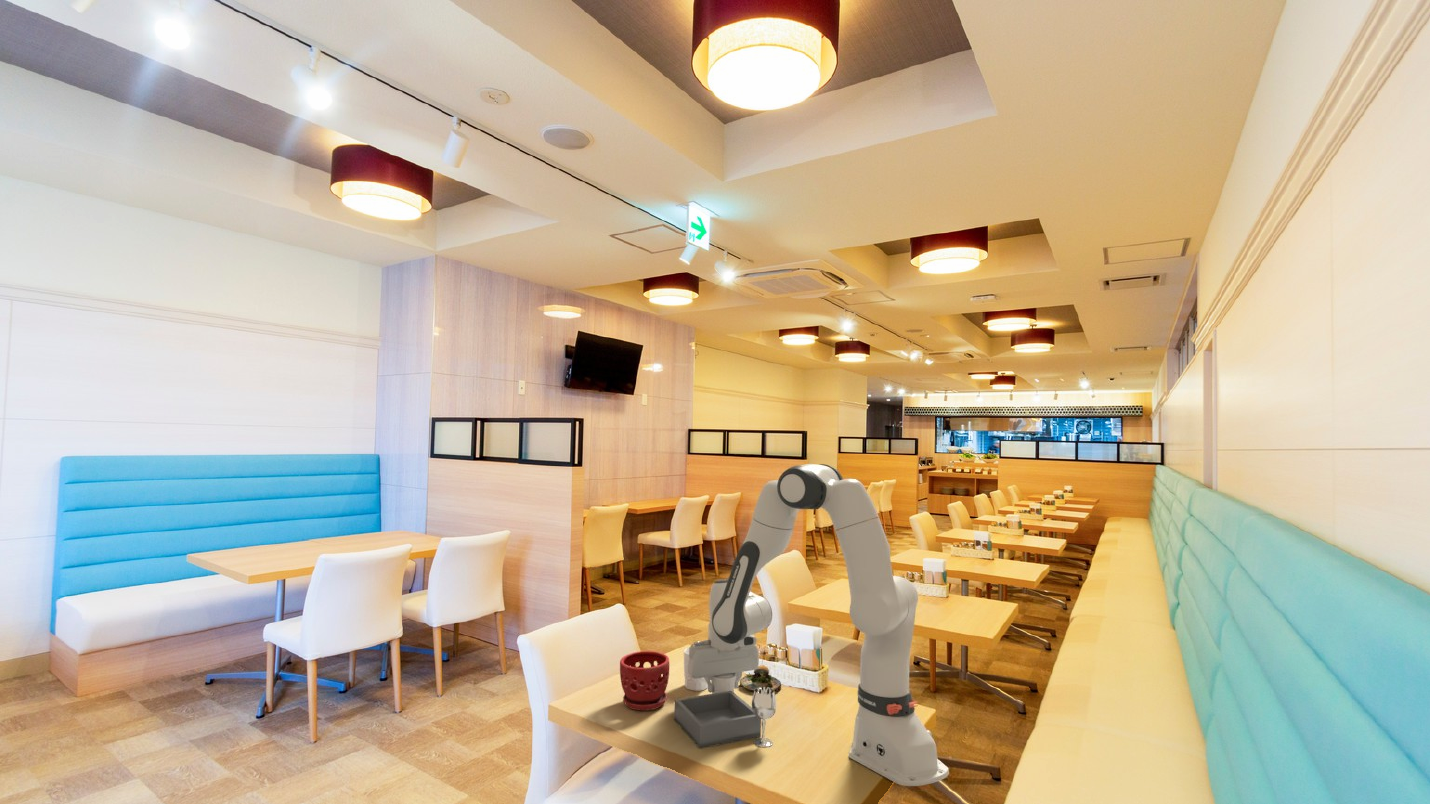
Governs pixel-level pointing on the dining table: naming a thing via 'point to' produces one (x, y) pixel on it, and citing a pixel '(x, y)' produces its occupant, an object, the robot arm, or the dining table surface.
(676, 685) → the dining table surface
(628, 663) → the plant pot
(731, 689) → the small tapered cup
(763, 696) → the wineglass
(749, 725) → the bin
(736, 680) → the robot arm
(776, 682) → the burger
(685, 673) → the white cup
